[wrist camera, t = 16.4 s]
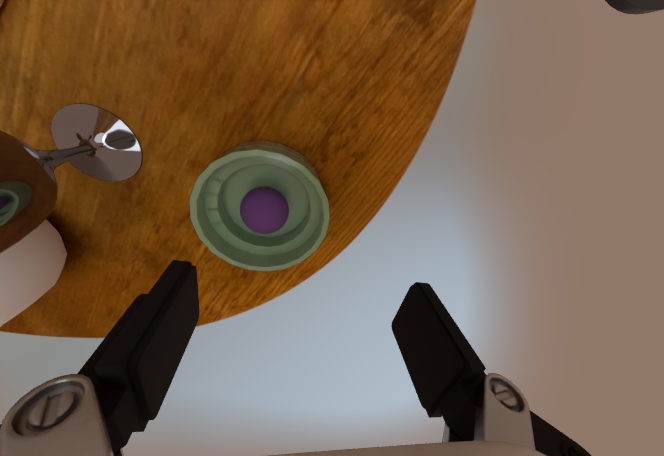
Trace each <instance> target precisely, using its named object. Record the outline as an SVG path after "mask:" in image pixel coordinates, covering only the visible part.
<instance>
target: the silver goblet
mask: <svg viewBox="0 0 664 456" xmlns="http://www.w3.org/2000/svg"><path fill="white" fill-rule="evenodd" d="M51 131H52V136H53V139H54V142H55V144H56V146H57V148H58V149H57V150H37V149H33V148H31V147H30V146H28V145H27V144H25V143H23V142H22V141H20V140H19V139H17V138H15V137H13V136H11V135H9V134H7V133H5V132H3V131H1V130H0V254H2V253H3V252H5V251H7V250H8V249H10V248H12V247H13V246H14V245H16V244H17V243H18V242H20V241H21V240H22V239H23V238H25V237H26V236H27V235H29V234H30V233H31V232H32V231H34V230H35V229H36V228H37V227H38V226H39V225H40V224H41V223H42V222H43V221H44V220H45V219H46V218H47V217H48V215H49V214H50V213H51V211H52V210H53V208H54V207H55V205H56V201H57V192H58V187H57V182H56V178H55V175H54V170H55V169H56V167H58V166H59V165H61V164H63V163H65V162H67V161H69V162H70V163H71V164H72V165H73V166H74V167H76V168H77V169H78V170H80V171H82V172H83V173H85V174H87V175H89V176H91V177H94V178H97V179H100V180H105V181H123V180H127V179H129V178H131V177H133V176H134V175H135V174H136V173H137V172H138V171H139V169H140V167H141V164H142V151H141V147H140V144H139V142H138V140H137V138H136V136H135V135H134V133H133V132H132V131H131V129H130V128H129V127H128V126H127V125H126V124H125V123H124V122H123V121H122V120H120V119H119V118H118V117H117V116H115V115H114V114H112V113H110V112H108V111H107V110H104V109H102V108H100V107H97V106H93V105H90V104H71V105H67V106H65V107H63V108H61V109H60V110H59V111H58V112H57V113H56V114H55V116H54V118H53V120H52V124H51Z"/></svg>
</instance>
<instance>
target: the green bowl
mask: <svg viewBox="0 0 664 456" xmlns="http://www.w3.org/2000/svg"><path fill="white" fill-rule="evenodd" d="M258 187H270V188H273V189H276V190H277V191H279V192H280V193H281V194H282V195H283V196H284V197H285V199H286V201H287V203H288V206H289V215H288V219H287V221H286V223H285V224H284V226H283V227H282V228H281V229H279V230H278V231H276V232H273V233H270V234H260V233H256V232H254V231H252V230H250V229H249V228H248V227H247V226H246V225H245V224H244V222H243V221H242V218H241V215H240V205H241V201H242V199H243V198H244V196H245V195H246V194H247V193H248V192H249V191H251V190H252V189H255V188H258ZM190 216H191V221H192V223H193V226H194V228H195V230H196V232H197V234H198V237H199V238H200V239H201V241H202V242H203V243H204V244H205V245H206V246H207V247H208V248H209V249H210V251H211V252H212V253H214V254H215V255H217V256H218V257H220V258H222V259H223V260H225V261H226V262H228V263H230V264H232V265H235V266H238V267H241V268H244V269H247V270H257V271H273V270H280V269H286V268H288V267H291V266H293V265H295V264H297V263H300V262H302V261H304V260H305V259H306V258H307V257H308V256H310V255H311V254H312V253H313V252H315V251H316V250H317V248H318V247H319V245H320V244H321V242H322V241H323V239H324V237H325V236H326V232H327V228H328V224H329V220H330V213H329V204H328V198H327V195H326V192H325V189H324V186H323V184H322V182H321V179H320V177H319V175H318V173H317V171H316V169H315V168H314V167H313V166H312V165H311V164H310V162H309V161H308V160H307V159H306V158H305V157H304V156H303V155H302V154H300V153H298V152H296V151H295V150H293V149H291V148H289V147H287V146H286V145H283V144H279V143H274V142H269V141H263V140H262V141H253V142H245V143H241V144H239V145H237V146H235V147H233V148H231V149H229V150H227V151H225V152H223V153H222V154H221V155H220V156H219V157H218V158H216V159H215V160H214V161H213V162H212V163H211V164H210V165H209V166H208V167H207V168H206V169H205V170H204V171H203V172H202V173H201V175H200V176H199V177H198V178H197V180H196V181H195V184H194V187H193V190H192V193H191V196H190Z"/></svg>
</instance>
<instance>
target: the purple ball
mask: <svg viewBox="0 0 664 456" xmlns="http://www.w3.org/2000/svg"><path fill="white" fill-rule="evenodd" d="M240 215H241V218H242V221H243V222H244V224H245V225H246V226H247V227H248V228H249V229H250V230H252V231H254V232H256V233H260V234H270V233H273V232H276V231H278V230H279V229H281V228H282V227H283V226H284V224H285V223H286V221H287V219H288V215H289V206H288V203H287V201H286V199H285V197H284V196H283V195H282V194H281V193H280V192H279V191H277V190H276V189H273V188H270V187H258V188H255V189H252V190H251V191H249V192H248V193H247V194H246V195H245V196H244V198H243V199H242V201H241V205H240Z"/></svg>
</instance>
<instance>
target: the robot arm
mask: <svg viewBox="0 0 664 456" xmlns="http://www.w3.org/2000/svg"><path fill="white" fill-rule="evenodd" d="M198 318H199V299H198V284H197V270H196V266H192V264H191V262H188V261H177V260H174V261H172V262H171V263H170V265H169V266H168V267H167V269H166V270H165V271H164V273H163V274H162V276H161V277H160V278H159V280H158V281H157V282H156V284H155V285H154V286H153V288H152V289H151V291H150V292H149V293H148V294H141V295H139V296H138V297H137V298H136V299H135V300H134V301H133V303H132V304H131V305H130V306H129V308H128V309H127V310H126V312H125V313H124V314H123V316H122V317H121V318H120V319H119V321H118V322H117V323H116V325H115V326H114V327H113V328H112V330H111V331H110V332H109V334H108V335H107V336H106V337H105V339H104V340H103V341H102V343H101V344H100V345H99V347H98V348H97V349H96V350H95V352H94V353H93V354H92V356H91V357H90V358H89V359H88V361H87V362H86V363H85V365H84V366H83V367H82V369H81V370H80V371H79V372H78V374H70V375H64V376H60V377H57V378H54V379H52V380H49V381H47V382H45V383H43V384H41V385H39V386H38V387H36V388H34V389H33V390H31V391H30V392H29V393H27V394H26V395H25V396H23V397H22V398H21V399H20V400H19V401H18V402H17V403H16V404H15V405H14V406H13V407H12V408H11V409H10V410H9V412H8V413H7V415H6V416H5V418H4V419H3V421H2V424H1V425H0V456H124V454H123V451H122V448H123V447H124V446H125V445H126V444H127V442H128V440H129V438H130V436H131V434H132V432H142V431H144V429H145V428H146V425H147V423H148V421H149V420H154V419H155V417H156V416H157V414H158V412H159V409H160V407H161V405H162V403H163V400H164V398H165V395H166V393H167V391H168V389H169V386H170V384H171V382H172V379H173V377H174V375H175V372H176V370H177V368H178V366H179V363H180V361H181V359H182V356H183V354H184V352H185V349H186V347H187V345H188V343H189V340H190V338H191V336H192V333H193V331H194V329H195V326H196V324H197V322H198ZM392 331H393V333H394V336H395V338H396V341H397V344H398V346H399V349H400V351H401V354H402V356H403V359H404V361H405V364H406V367H407V369H408V372H409V374H410V377H411V380H412V382H413V385H414V387H415V389H416V392H417V395H418V398H419V400H420V402H421V405H422V407H423V408H425V409H426V411H427V414H428V416H429V417H430V418H431V417H441V416H443V418H444V421H445V427H444V434H443V440H442V443H429V444H414V445H401V446H386V447H373V448H359V449H346V450H334V451H320V452H307V453H294V454H281V455H269V456H591V455H590V454H589V453H588V452H587V451H586V450H585V449H583V448H582V447H581V446H580V445H579V444H577V443H576V442H575V441H573V440H572V439H570V438H569V437H567V436H566V435H564V434H563V433H562V432H560V431H559V430H557V429H556V428H554V427H553V426H552V425H550V424H549V423H547V422H546V421H544V420H543V419H541V418H540V417H539V416H537V415H536V414H534V413H533V412H531V411H530V410H529V406H528V403H527V401H526V399H525V397H524V395H523V394H522V393H521V391H520V390H519V389H518V388H517V387H516V386H515V385H514V384H513V383H512V382H511V381H509V380H508V379H507V378H505V377H503V376H501V375H499V374H495V373H489V374H488V375H486V374H485V373H484V370H485V369H486V368H485V366H484V365H483V363H482V362H481V360H480V359H479V357H478V356H477V354H476V353H475V351H474V350H473V349H472V347H471V345H470V344H469V343H468V341H467V339H466V338H465V336H464V335H463V334H462V332H461V331H460V329H459V327H458V326H457V325H456V323H455V322H454V320H453V319H452V317H451V316H450V314H449V313H448V311H447V310H446V308H445V307H444V305H443V304H442V303H441V301H440V299H439V298H438V296H437V295H436V294H435V292H434V290H433V289H432V287H431V286H430V285H429V284H428V283H418V282H416V283H415V284H414V285H412V286H411V287H410V288H409V291H408V292H407V294H406V296H405V298H404V300H403V302H402V304H401V306H400V308H399V310H398V312H397V314H396V316H395V318H394V320H393V322H392Z"/></svg>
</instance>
